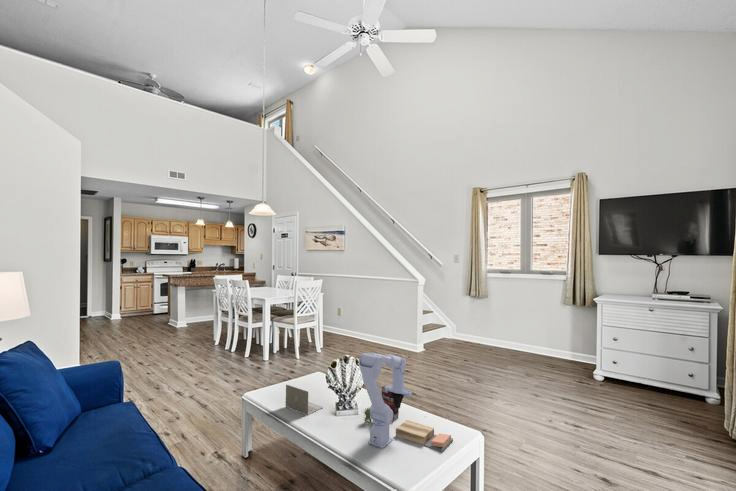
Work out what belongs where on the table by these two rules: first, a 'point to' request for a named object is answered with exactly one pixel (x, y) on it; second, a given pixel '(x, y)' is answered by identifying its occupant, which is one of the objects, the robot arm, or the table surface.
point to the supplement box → (390, 402)
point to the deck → (415, 432)
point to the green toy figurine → (367, 415)
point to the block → (441, 440)
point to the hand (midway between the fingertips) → (398, 407)
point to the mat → (436, 446)
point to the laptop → (299, 401)
